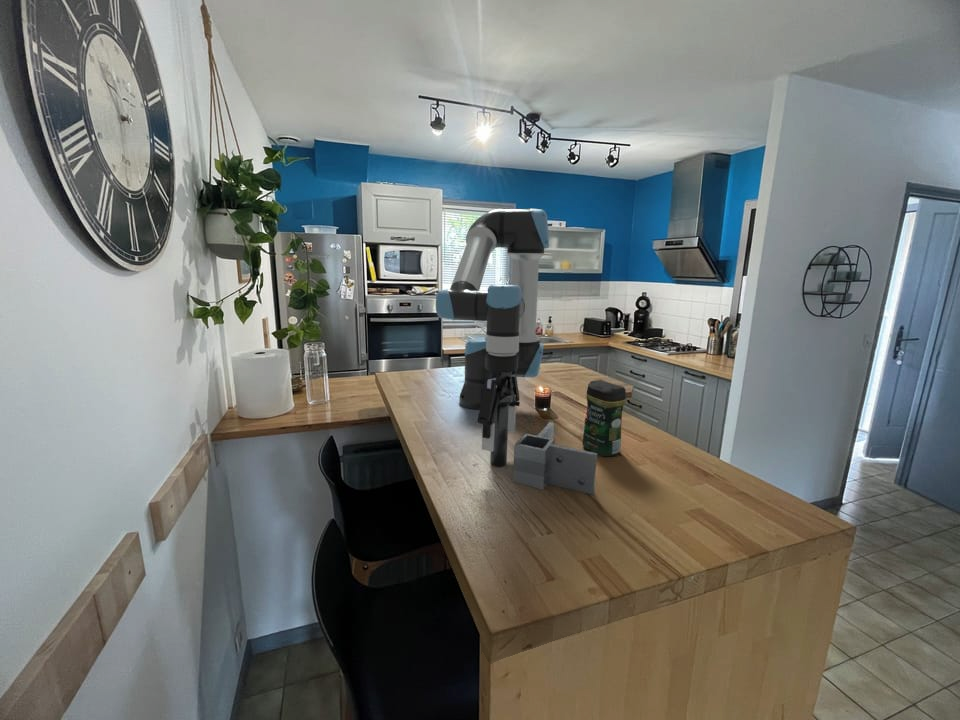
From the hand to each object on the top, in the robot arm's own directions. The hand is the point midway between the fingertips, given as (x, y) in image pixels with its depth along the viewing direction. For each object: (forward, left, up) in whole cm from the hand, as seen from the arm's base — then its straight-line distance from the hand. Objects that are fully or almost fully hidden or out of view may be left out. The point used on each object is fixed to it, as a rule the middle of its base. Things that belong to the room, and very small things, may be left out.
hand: (499, 439), depth 100 cm
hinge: (-1, +15, -6) cm, 16 cm away
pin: (0, 0, -6) cm, 6 cm away
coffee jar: (-20, +21, -6) cm, 30 cm away
